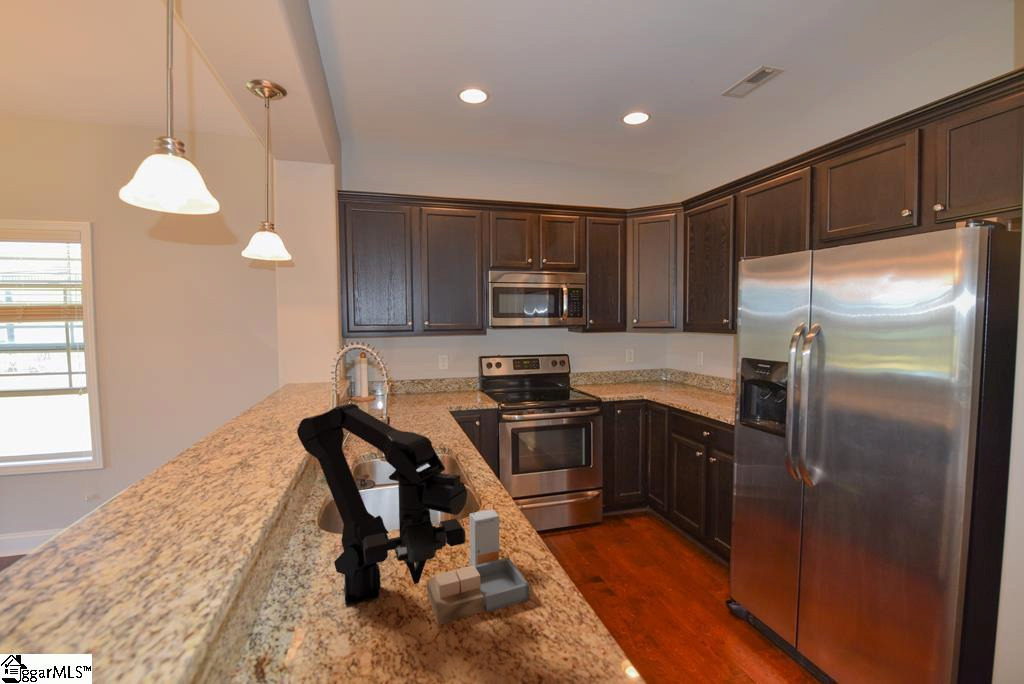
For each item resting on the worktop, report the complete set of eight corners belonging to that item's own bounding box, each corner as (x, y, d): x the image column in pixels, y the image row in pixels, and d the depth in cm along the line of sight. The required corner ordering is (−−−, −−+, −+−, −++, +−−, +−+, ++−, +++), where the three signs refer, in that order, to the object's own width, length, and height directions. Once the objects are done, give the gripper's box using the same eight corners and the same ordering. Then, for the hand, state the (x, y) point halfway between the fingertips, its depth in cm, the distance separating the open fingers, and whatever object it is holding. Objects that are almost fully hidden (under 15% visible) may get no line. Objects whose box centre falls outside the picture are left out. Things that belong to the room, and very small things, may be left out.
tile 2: (461, 592, 85) (460, 580, 85) (455, 581, 89) (455, 569, 89) (480, 587, 87) (480, 575, 86) (474, 576, 90) (473, 565, 90)
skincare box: (475, 573, 97) (474, 520, 96) (469, 563, 101) (468, 513, 100) (500, 566, 99) (499, 515, 98) (493, 557, 103) (493, 508, 102)
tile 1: (439, 598, 83) (439, 585, 83) (434, 586, 87) (434, 574, 87) (459, 593, 85) (459, 580, 85) (454, 581, 89) (453, 570, 88)
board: (438, 625, 80) (438, 609, 80) (427, 593, 89) (426, 579, 89) (484, 611, 84) (484, 596, 84) (468, 582, 93) (468, 569, 93)
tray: (486, 612, 84) (486, 596, 83) (469, 581, 94) (469, 566, 93) (529, 599, 87) (529, 584, 87) (508, 571, 97) (508, 557, 97)
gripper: (366, 533, 72) (369, 623, 72) (473, 512, 79) (475, 594, 80) (361, 506, 82) (363, 586, 83) (456, 490, 89) (458, 563, 90)
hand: (416, 582), depth 83 cm, fingers closed
